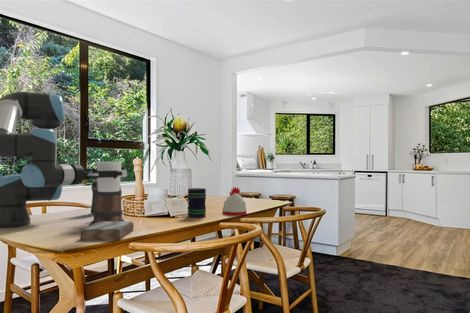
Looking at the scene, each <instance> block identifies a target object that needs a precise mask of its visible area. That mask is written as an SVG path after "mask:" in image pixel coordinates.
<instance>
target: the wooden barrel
mask: <svg viewBox="0 0 470 313" xmlns="http://www.w3.org/2000/svg"><path fill="white" fill-rule="evenodd" d="M96 185H97V180H93V181H92V183H91V188H90V189H91V192H92V199H91V205H90V206H91V207H90V214H92V215H93V211H94V204H95V190H96Z"/></svg>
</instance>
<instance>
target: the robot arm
mask: <svg viewBox="0 0 470 313" xmlns="http://www.w3.org/2000/svg"><path fill="white" fill-rule="evenodd" d="M64 107H65V106H64V100H63V97H62V96H61V95H59V94H55V93H43V92H30V91H15V92H10V93H8V94H5V95H3V96H2V97H0V158H1V157H2V158H3V157H4V158H7V157H8V158H12V157H13V158H18V157H19V158H30V160H29V164H26V165H24V166H23V167H22V169H21V170H22V171H21V172H20V173H18V174H17V173H15V174H9V175H3V176H0V228H15V227H23V226H27V225H28V226H29V225H30V224H31V217H30V213H29V210H28V208H27V202H38V201H39V202H41V201H45V202H46V201H49V202H50V201H56V200H59V199H60V198H61V195H62V190H63V187H64V186H77V185H81V184H82V183H83V182H84V180H95V179H96V180H97V178H107V177H113V179H116V178H117V177H121V178H125V177H128V170H127V169H121V170H113V171H97V167H96V168H95V167H94V168H92V169H90V168H83V166H82V165H81V164H77V163H74V164H73V163H72V164H71V163H70V164H68V163H63V164H62V163H61V164H59V163H58V164H57V157H58V156H57V152H58V150H57V149H58V129H59V128H61V126H62V123H64V122H65V120H66V118H65V109H64ZM21 120H22V121H23V120H24V121H30V124H31V126H32V127H34V128H31V129H30V132H29V133H16V130H17V126H18V121H21Z"/></svg>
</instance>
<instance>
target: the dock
mask: <svg viewBox="0 0 470 313" xmlns="http://www.w3.org/2000/svg"><path fill="white" fill-rule="evenodd" d="M124 221H125V220H124ZM124 221H99V222H97V223H95V224H92V225H90V224H89V225H90V226H89V225H88V226H86V227H84V228H82V229H81V230H80V234H79V235H80V236H79V237H80V241H121V240H122V239H124V238H125V237H126V236H128V235H129V234H131V233H132V232H134V222H133V221H125V222H124Z"/></svg>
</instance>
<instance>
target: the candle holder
mask: <svg viewBox="0 0 470 313" xmlns="http://www.w3.org/2000/svg"><path fill="white" fill-rule="evenodd" d="M95 163H96V170H97V171H113V170H122V163H123V162H122V161H95ZM121 178H122V177H117V178H116V179H113V177H107V178H97V179H96V181H97V186H98V192H117V191H119V190H120V187H121Z"/></svg>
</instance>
